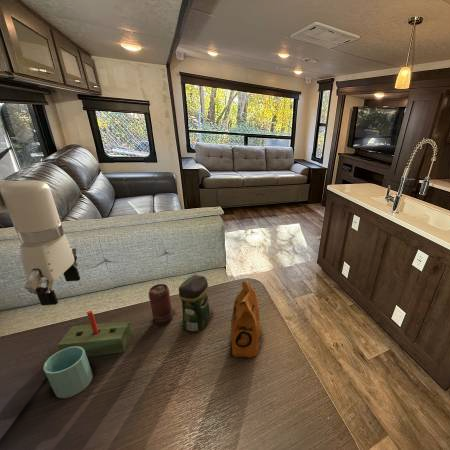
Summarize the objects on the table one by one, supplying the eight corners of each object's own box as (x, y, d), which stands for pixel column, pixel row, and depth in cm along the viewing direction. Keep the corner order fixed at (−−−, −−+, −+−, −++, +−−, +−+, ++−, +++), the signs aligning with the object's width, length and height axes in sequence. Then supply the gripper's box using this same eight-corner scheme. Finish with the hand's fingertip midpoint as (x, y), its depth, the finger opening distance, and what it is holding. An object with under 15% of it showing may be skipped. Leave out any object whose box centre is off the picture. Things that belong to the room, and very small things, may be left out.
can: (149, 321, 89) (143, 290, 83) (165, 311, 94) (161, 281, 88) (160, 329, 86) (155, 297, 81) (176, 317, 91) (172, 287, 86)
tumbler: (47, 400, 63) (35, 375, 59) (66, 372, 70) (56, 348, 66) (83, 395, 65) (73, 370, 61) (98, 368, 72) (90, 344, 68)
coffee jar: (194, 311, 95) (190, 270, 88) (213, 315, 94) (211, 274, 87) (179, 330, 86) (173, 287, 79) (200, 334, 85) (195, 291, 78)
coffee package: (227, 360, 78) (225, 305, 69) (233, 329, 89) (232, 278, 80) (259, 359, 79) (261, 305, 70) (261, 329, 90) (263, 279, 81)
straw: (97, 348, 77) (85, 313, 72) (99, 344, 78) (88, 310, 73) (101, 347, 78) (90, 313, 72) (103, 344, 79) (92, 310, 73)
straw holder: (124, 352, 77) (120, 338, 75) (63, 359, 73) (57, 344, 71) (132, 334, 83) (129, 320, 81) (77, 340, 79) (71, 326, 77)
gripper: (47, 219, 65) (65, 273, 72) (-11, 252, 50) (19, 317, 56) (81, 219, 67) (95, 272, 74) (34, 250, 52) (58, 313, 58)
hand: (62, 291), depth 65 cm, fingers open, 9 cm apart
